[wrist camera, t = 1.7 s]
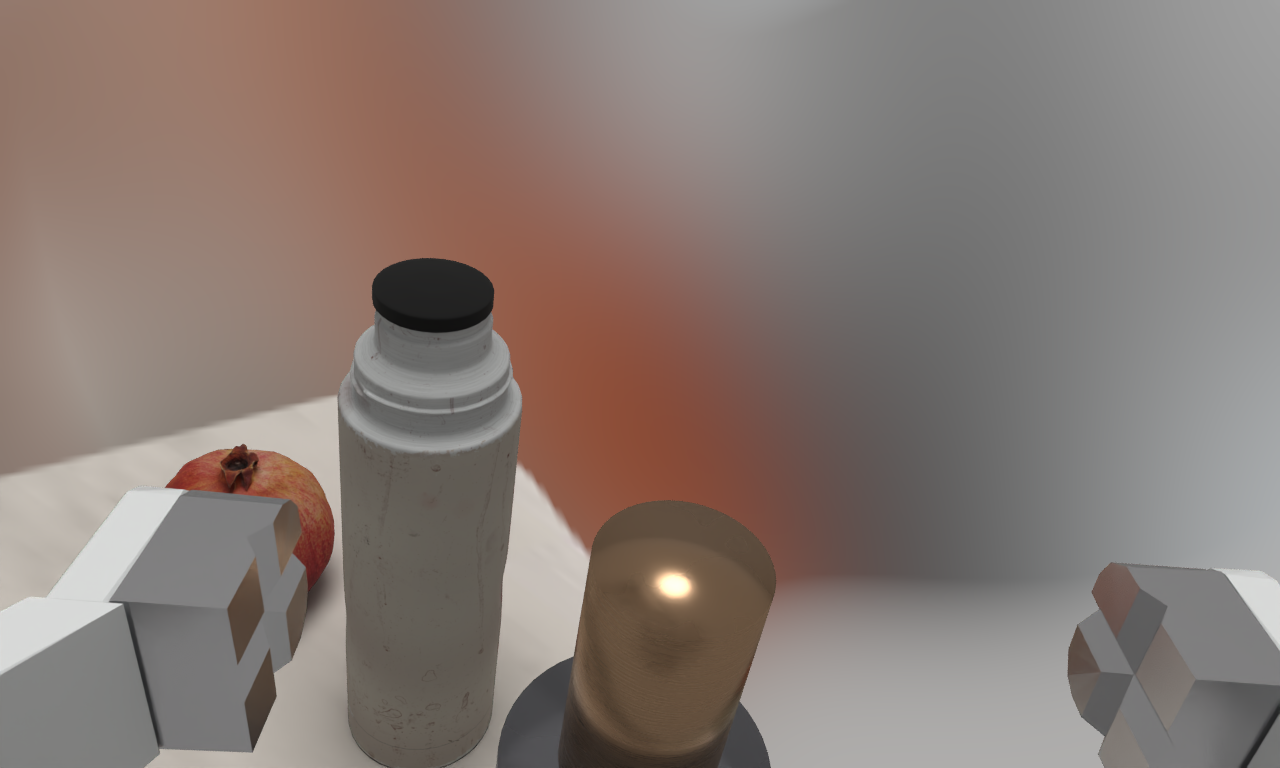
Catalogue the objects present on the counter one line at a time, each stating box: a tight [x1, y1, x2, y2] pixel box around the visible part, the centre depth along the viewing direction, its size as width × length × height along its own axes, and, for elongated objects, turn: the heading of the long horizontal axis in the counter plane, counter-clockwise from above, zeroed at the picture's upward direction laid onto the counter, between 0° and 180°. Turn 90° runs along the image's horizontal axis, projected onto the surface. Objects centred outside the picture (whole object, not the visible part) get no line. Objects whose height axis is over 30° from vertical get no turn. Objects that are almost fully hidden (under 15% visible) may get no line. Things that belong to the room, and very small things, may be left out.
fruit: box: [165, 444, 335, 591], centre depth 59 cm, size 11×10×10 cm
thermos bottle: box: [338, 258, 522, 768], centre depth 48 cm, size 8×8×28 cm
